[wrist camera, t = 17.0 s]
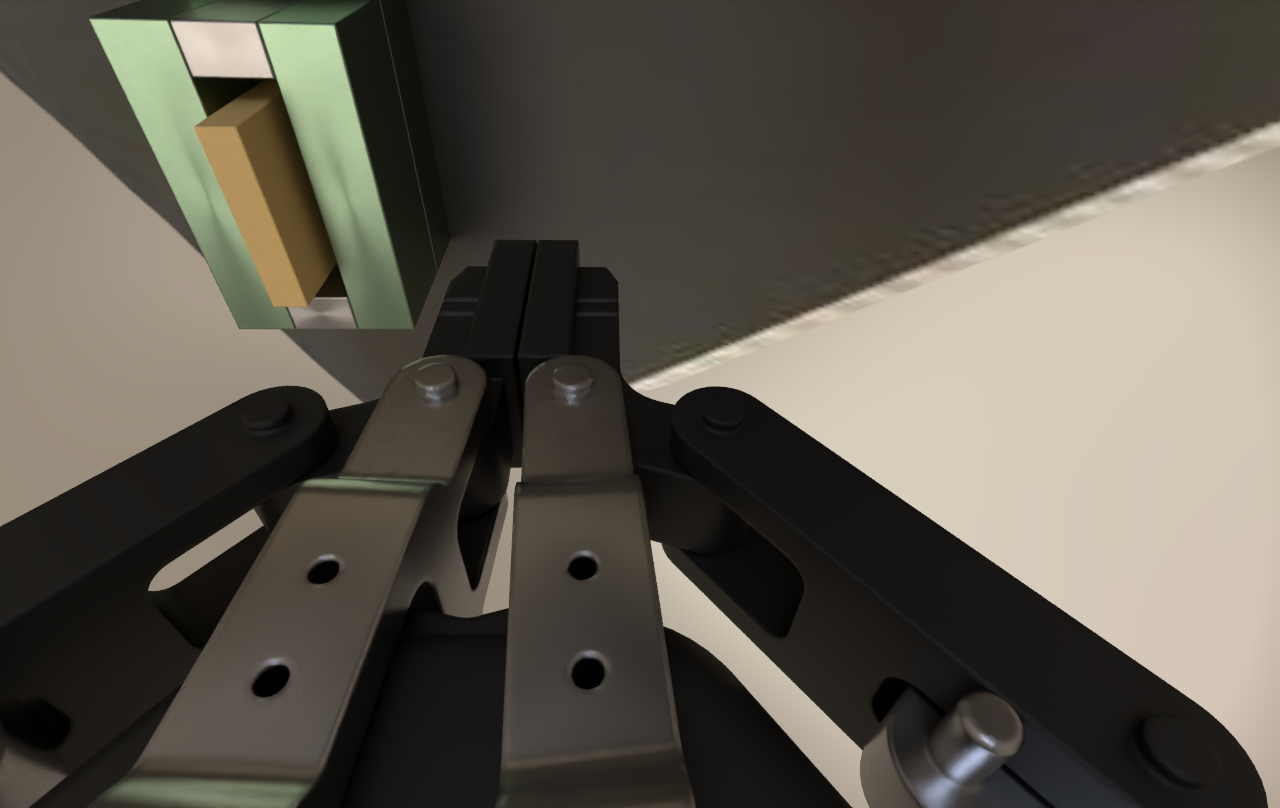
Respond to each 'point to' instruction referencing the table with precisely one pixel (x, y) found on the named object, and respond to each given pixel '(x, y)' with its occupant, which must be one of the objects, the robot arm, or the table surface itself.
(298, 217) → the toast
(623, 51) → the table surface
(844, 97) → the table surface
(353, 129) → the toaster
